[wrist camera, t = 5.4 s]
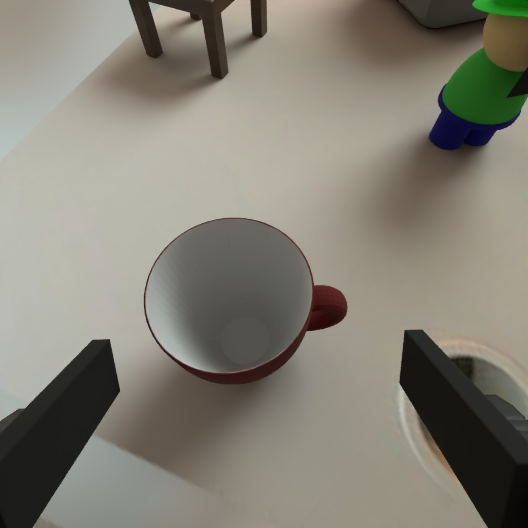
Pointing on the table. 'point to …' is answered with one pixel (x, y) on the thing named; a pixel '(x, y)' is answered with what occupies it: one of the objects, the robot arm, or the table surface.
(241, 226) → the mug
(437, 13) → the alarm clock
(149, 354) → the table surface
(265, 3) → the chair
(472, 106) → the toy
